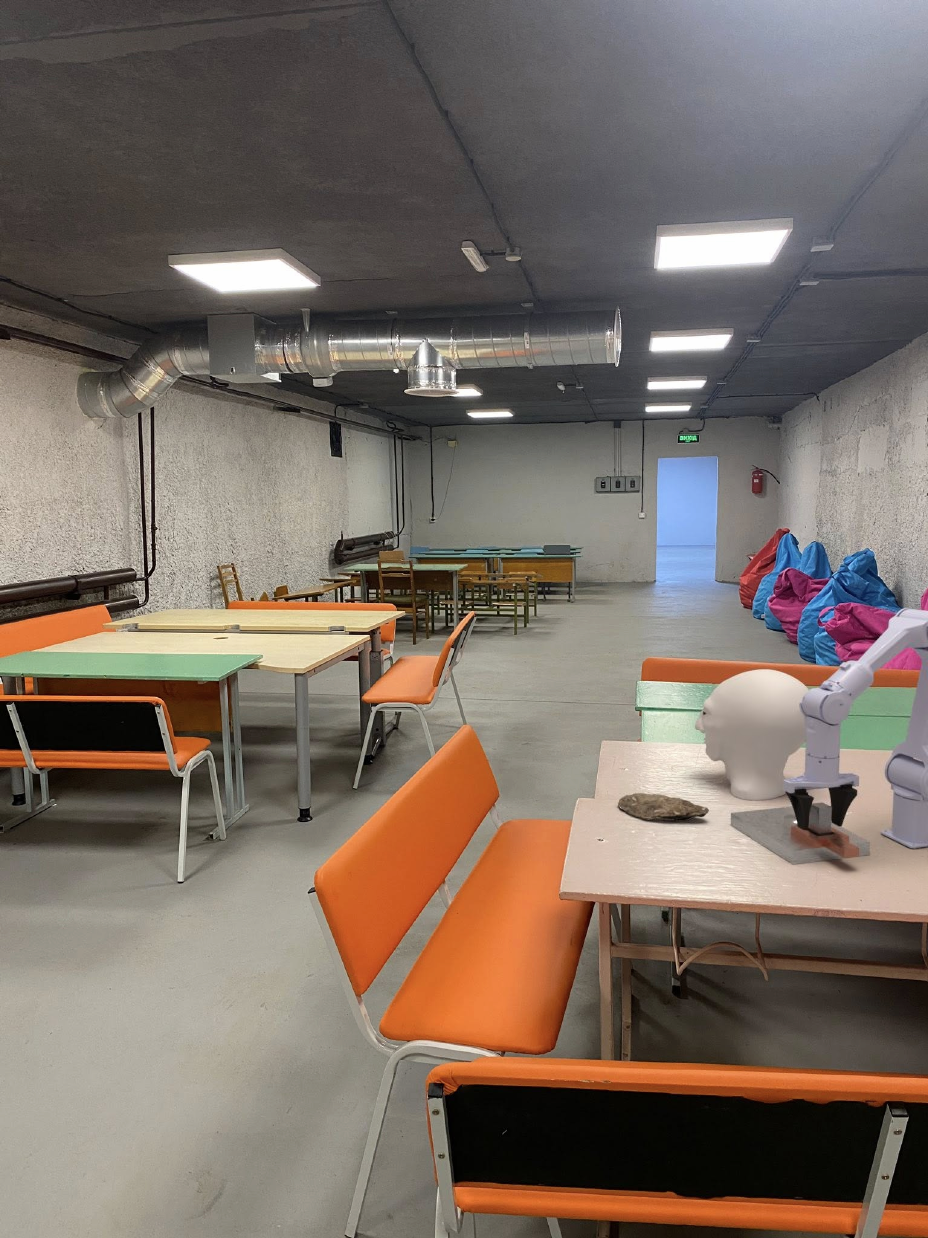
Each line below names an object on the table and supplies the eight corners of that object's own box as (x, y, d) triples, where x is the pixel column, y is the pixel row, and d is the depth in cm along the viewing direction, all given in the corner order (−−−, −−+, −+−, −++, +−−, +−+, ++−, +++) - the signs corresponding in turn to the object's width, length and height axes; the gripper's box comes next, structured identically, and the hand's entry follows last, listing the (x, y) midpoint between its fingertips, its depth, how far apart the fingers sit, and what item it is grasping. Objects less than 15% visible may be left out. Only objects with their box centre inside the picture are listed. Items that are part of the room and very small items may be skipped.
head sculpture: (802, 811, 169) (806, 680, 166) (679, 787, 186) (681, 668, 183) (823, 789, 183) (827, 668, 180) (707, 769, 199) (709, 658, 196)
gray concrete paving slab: (799, 817, 166) (800, 798, 165) (890, 866, 141) (891, 844, 141) (730, 825, 162) (731, 805, 161) (811, 876, 138) (811, 853, 137)
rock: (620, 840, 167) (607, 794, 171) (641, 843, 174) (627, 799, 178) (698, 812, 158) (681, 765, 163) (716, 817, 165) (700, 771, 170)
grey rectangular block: (820, 849, 149) (822, 802, 148) (830, 854, 147) (831, 807, 146) (808, 850, 149) (810, 803, 148) (817, 856, 146) (819, 808, 145)
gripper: (841, 745, 151) (839, 815, 153) (773, 751, 148) (771, 822, 149) (868, 755, 144) (865, 828, 146) (798, 762, 141) (795, 836, 143)
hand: (819, 826), depth 147 cm, fingers open, 7 cm apart
